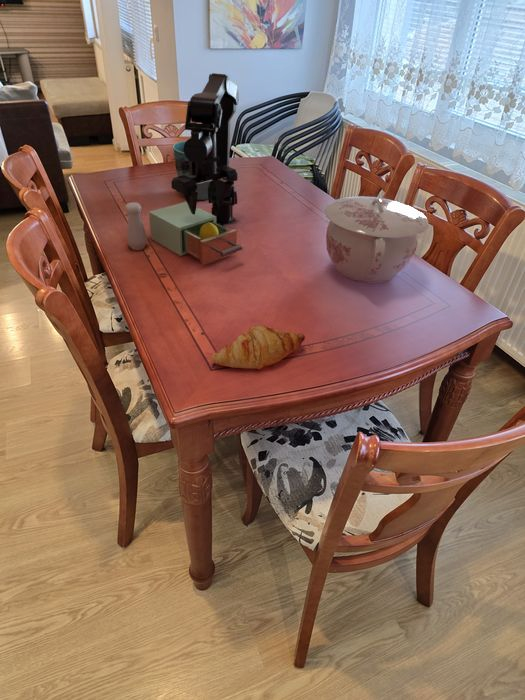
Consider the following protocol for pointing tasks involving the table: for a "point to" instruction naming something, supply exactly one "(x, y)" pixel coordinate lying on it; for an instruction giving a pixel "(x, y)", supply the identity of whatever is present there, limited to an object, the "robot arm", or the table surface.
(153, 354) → the table surface
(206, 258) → the drawer
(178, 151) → the flower pot
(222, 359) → the croissant
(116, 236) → the table surface
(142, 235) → the salt shaker
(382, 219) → the chamber pot
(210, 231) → the lemon
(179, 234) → the pale green box
